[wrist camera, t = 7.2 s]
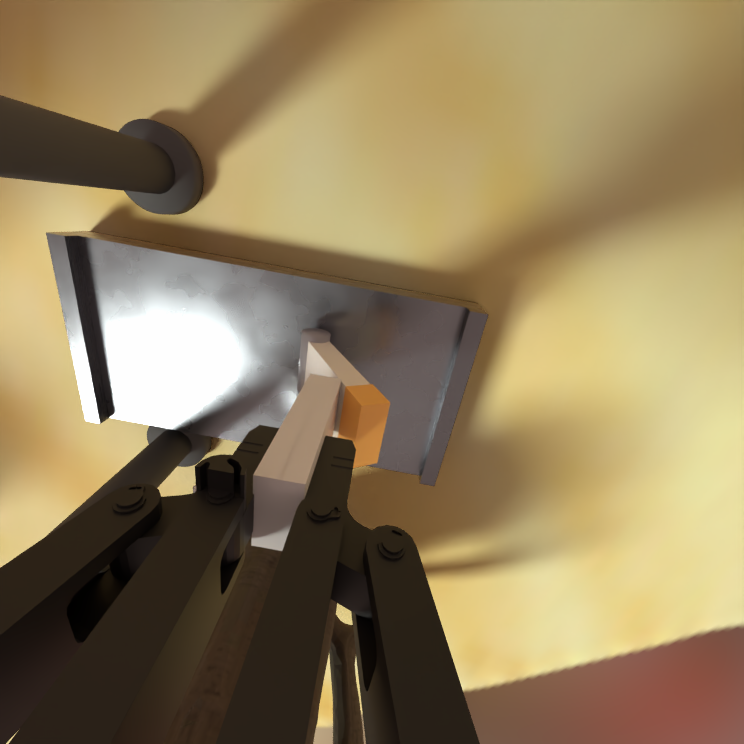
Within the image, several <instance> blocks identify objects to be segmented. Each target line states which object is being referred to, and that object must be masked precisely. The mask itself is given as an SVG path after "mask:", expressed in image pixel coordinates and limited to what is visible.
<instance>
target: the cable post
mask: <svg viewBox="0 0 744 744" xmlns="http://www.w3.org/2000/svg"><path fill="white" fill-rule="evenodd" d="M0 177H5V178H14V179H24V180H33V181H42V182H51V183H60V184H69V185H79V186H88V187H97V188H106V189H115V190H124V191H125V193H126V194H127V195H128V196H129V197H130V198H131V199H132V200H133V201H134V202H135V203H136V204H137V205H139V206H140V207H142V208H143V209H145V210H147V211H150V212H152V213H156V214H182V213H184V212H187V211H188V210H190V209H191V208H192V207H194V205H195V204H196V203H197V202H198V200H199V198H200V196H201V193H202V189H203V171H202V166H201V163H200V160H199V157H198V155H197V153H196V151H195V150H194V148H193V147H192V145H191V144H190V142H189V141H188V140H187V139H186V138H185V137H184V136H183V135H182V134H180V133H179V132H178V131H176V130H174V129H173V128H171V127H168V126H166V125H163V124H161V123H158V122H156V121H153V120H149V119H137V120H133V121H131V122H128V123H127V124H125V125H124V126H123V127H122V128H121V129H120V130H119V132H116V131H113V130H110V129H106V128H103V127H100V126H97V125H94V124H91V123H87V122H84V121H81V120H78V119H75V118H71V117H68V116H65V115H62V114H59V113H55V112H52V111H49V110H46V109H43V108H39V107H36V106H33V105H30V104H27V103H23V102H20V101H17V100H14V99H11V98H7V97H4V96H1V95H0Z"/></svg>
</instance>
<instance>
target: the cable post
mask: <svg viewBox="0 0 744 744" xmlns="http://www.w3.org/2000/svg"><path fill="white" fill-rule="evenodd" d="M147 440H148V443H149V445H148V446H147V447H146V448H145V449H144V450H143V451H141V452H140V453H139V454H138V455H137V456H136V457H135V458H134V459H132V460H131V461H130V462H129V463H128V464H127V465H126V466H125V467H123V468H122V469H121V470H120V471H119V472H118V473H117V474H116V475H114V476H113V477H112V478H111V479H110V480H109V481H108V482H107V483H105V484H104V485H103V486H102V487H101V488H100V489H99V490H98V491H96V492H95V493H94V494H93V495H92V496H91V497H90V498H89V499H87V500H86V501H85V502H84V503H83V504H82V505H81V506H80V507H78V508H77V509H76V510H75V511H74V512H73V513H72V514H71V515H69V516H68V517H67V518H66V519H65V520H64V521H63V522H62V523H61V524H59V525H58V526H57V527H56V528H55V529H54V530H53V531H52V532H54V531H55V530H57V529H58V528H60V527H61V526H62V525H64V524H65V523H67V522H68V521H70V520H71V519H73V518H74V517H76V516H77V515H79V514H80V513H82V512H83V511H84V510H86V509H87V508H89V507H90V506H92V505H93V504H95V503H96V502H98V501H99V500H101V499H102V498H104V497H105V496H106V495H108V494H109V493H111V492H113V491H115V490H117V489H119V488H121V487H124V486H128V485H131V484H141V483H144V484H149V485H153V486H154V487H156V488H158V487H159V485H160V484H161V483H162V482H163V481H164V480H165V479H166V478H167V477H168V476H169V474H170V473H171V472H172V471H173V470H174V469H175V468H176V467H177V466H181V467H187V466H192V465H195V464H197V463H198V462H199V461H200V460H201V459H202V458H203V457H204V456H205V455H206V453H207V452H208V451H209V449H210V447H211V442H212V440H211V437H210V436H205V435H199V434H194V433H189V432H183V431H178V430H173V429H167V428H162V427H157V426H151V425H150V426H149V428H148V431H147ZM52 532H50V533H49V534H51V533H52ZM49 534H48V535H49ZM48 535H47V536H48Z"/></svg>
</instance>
